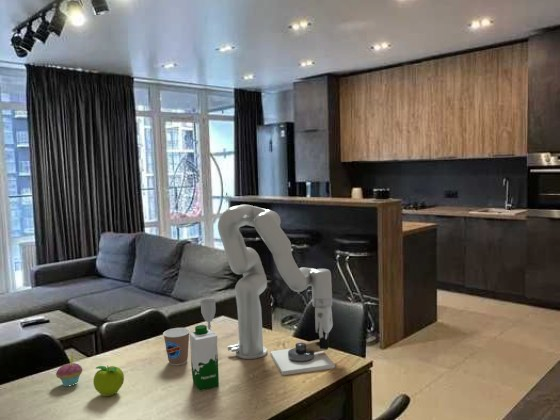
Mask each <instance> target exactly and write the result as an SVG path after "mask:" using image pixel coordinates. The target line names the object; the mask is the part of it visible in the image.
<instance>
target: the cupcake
mask: <svg viewBox="0 0 560 420" xmlns="http://www.w3.org/2000/svg"><path fill="white" fill-rule="evenodd" d="M73 359H74V352H73V351H71V354H70V363H66V364H63V365H61V366H60V367H59V368H57V371H56V374H55V376H56V378H58V379H60V381H61V383H62V385H63V386H64V385H65V386H64V387H66V386H69V385H73V384H75V383H77V382H78V383H79V379H80V377H81V374H82V373H83V367H82V366H81V364H79V363H76V362H75V363H74V362H73ZM78 383H77V384H78ZM69 387H70V386H69Z"/></svg>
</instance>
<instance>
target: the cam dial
mask: <svg viewBox="0 0 560 420" xmlns="http://www.w3.org/2000/svg"><path fill="white" fill-rule="evenodd" d="M290 349H291V350H289V351H288V359H289V360H291V361H293V362H308V361H311V360H313V359H314V353H316V352H320V351H324V352H325V351H327V350H328V349H320V338H319V339H315V340H310V341H306V342H296V343H295V347H294V348H293V349H292V348H290Z"/></svg>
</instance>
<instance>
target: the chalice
mask: <svg viewBox="0 0 560 420" xmlns="http://www.w3.org/2000/svg"><path fill="white" fill-rule="evenodd" d="M216 302H217V299H215V298H204V299H200V300H199V303H200V312H201V315H202V318H203V319H204V321H205V322H207V325H206V326H207V330H209V329H210V330H211V331H212V325H211V322H212V321H213V319H214V317H215V316H216V315H215V314H216V312H217V311H216Z"/></svg>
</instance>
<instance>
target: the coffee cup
mask: <svg viewBox="0 0 560 420" xmlns="http://www.w3.org/2000/svg"><path fill="white" fill-rule="evenodd" d="M190 331H191V329H189V328H186V327H175V328H169V329H167V330H165V331H164V332H162V335H163V337H164V342H165V343H164V344H165V351H166V354H167V360H168V363H169V365H172V366H179V365H184V364H186V363H187V362H188V359H189V358H188V357H189V354H188V353H189V346H190V345H189V344H190V342H189V341H190V333H191V332H190Z"/></svg>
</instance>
